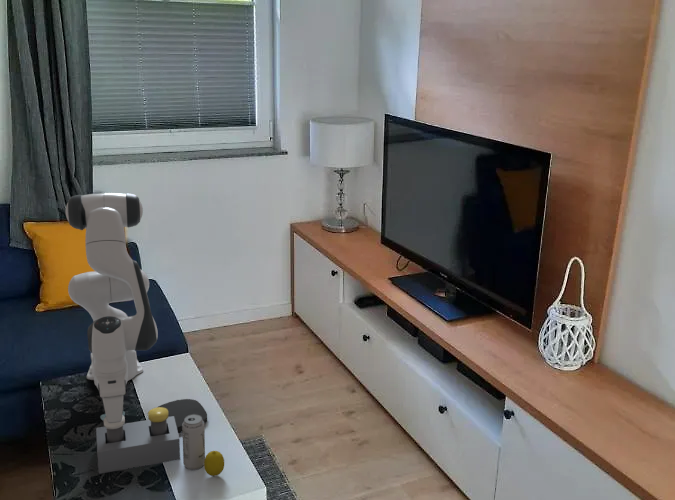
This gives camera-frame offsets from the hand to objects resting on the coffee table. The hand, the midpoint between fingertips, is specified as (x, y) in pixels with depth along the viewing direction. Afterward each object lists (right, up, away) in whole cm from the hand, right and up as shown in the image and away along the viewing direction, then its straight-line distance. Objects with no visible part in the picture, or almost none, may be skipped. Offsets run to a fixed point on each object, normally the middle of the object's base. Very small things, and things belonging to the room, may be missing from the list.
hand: (114, 419), depth 185 cm
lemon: (+28, -16, -1) cm, 32 cm away
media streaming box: (+13, -7, +24) cm, 28 cm away
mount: (+5, -12, +6) cm, 14 cm away
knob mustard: (+11, -10, +8) cm, 17 cm away
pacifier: (-8, -6, +22) cm, 24 cm away
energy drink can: (+22, -14, +3) cm, 26 cm away
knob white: (-1, -11, +4) cm, 11 cm away
